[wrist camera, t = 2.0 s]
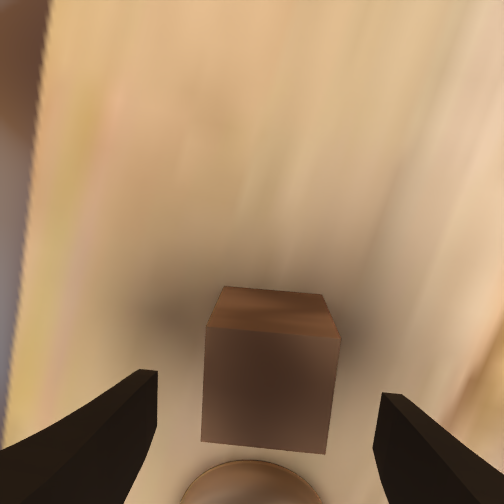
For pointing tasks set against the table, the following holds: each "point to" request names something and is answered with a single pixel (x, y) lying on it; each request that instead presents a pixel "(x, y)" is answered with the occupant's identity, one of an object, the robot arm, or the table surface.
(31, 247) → the table surface
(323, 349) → the walnut cube
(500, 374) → the table surface
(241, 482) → the birch round
